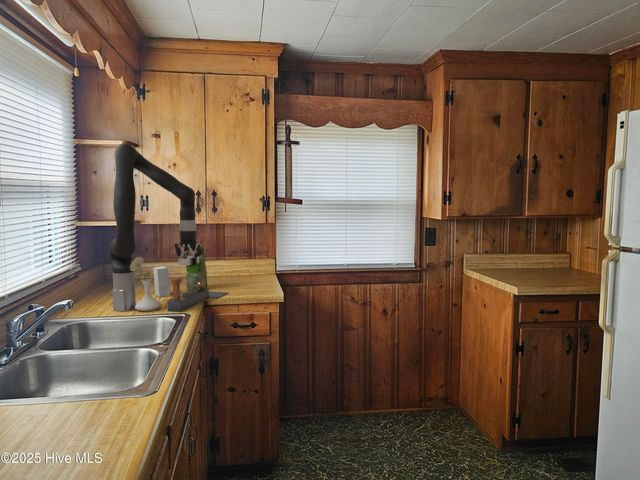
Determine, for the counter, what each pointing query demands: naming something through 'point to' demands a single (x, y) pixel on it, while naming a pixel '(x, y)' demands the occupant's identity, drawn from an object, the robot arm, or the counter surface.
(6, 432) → the counter surface
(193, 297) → the hand plane
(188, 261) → the lever cap
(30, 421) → the counter surface
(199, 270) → the green plant in glass
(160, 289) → the skincare box
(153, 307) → the flower in vase
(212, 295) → the rubber mat
